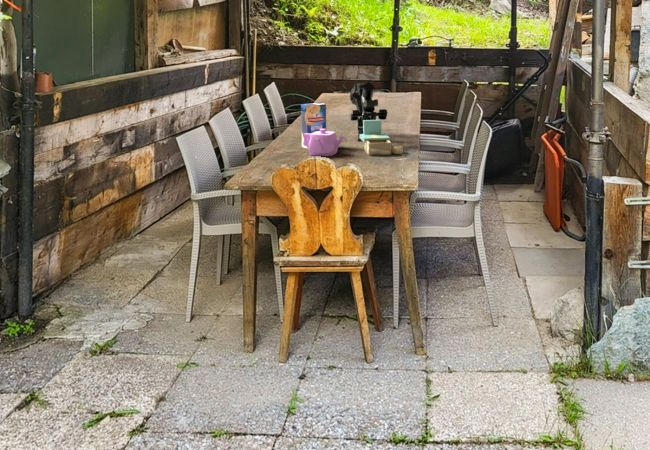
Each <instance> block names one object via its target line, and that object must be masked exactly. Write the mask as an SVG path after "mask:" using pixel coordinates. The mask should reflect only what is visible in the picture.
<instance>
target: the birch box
mask: <svg viewBox="0 0 650 450" xmlns="http://www.w3.org/2000/svg"><path fill="white" fill-rule="evenodd" d="M363 143H364V144H363V146H364V147H363V148H364V149H363V150H364V152H365V153H366V155H368V157H369V156H370V157H371V156H372V155H373V156H392V142H391V140H390V141H389V140H388V139H381V140H365V142H363Z"/></svg>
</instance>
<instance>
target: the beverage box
mask: <svg viewBox="0 0 650 450" xmlns="http://www.w3.org/2000/svg"><path fill="white" fill-rule="evenodd" d="M300 113H301V114H300V118H301V119H300V121H301V122H300V123H301V128H300V129H301V147H302V148H305V149H308V147H306V146H305V145H303V144H304V134H312V133H313V132H316V131H320V129H326V130H327V104H326V103H322V102H316V103H315V102H314V103H301V104H300ZM309 139H310V137H309Z"/></svg>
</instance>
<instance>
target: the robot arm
mask: <svg viewBox="0 0 650 450" xmlns="http://www.w3.org/2000/svg"><path fill="white" fill-rule="evenodd" d="M370 82H371V81H366V82H365V83H363V82H361V83H359V82H358V83H357V82H356V83H354V86H353V87H352V88H351V89H350V92H349V101H351V104H352V105H354V106H355V108H356V109H352V110H351V112H350V115H349V117H350V121H353V122H355V121H356V122H355V123H356V124H355V129H356V130H357V132H358V134H357V135H358V136H357V142H363V141H362V140H361V139H360V134H363V120H377V119H378V120H381V121H383V120H384V121H385V120H386V119H387V116H388V109H385V108H384V109H383V108H382V109H379V110H378V111H375V110H376V109H375V107H378V106H379V99H373V97H374V96H373V95H374V92H375V86H374V84H372V83H370ZM377 117H378V118H377Z"/></svg>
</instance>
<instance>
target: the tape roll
mask: <svg viewBox="0 0 650 450" xmlns="http://www.w3.org/2000/svg"><path fill="white" fill-rule="evenodd" d="M393 153H394V155H402V154H403V153H404V147H403V146H400V145H395V146H392V154H393Z"/></svg>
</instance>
